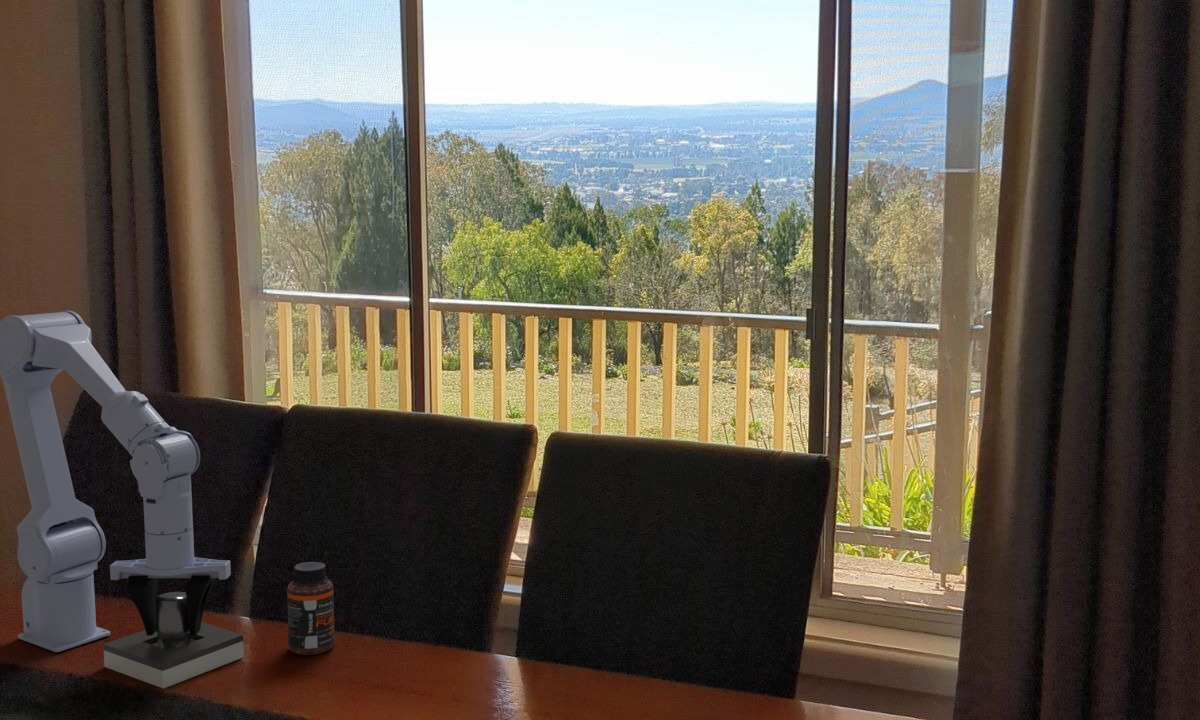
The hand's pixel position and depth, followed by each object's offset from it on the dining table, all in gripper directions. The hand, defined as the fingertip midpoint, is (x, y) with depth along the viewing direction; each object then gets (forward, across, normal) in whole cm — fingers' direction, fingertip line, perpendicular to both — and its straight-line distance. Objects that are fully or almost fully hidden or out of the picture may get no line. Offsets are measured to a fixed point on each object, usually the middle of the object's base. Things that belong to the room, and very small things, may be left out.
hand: (173, 632), depth 147 cm
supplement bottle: (+4, -16, -4) cm, 18 cm away
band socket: (+4, 0, 0) cm, 4 cm away
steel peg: (+3, 0, 0) cm, 3 cm away
